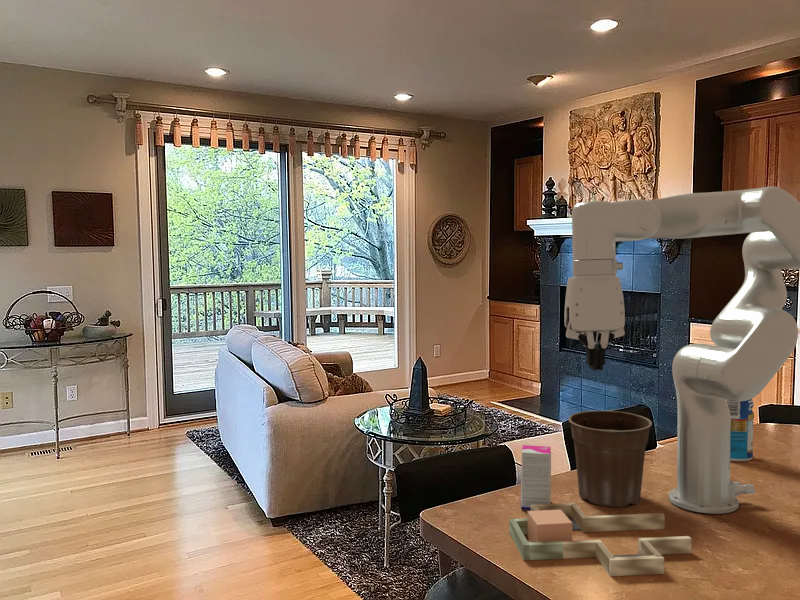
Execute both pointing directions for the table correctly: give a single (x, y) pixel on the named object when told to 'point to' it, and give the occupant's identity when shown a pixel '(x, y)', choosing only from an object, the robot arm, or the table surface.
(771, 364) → the robot arm
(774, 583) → the table surface
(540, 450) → the supplement box
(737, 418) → the blue cylindrical canister
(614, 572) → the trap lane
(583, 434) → the plant pot
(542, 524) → the terracotta block
